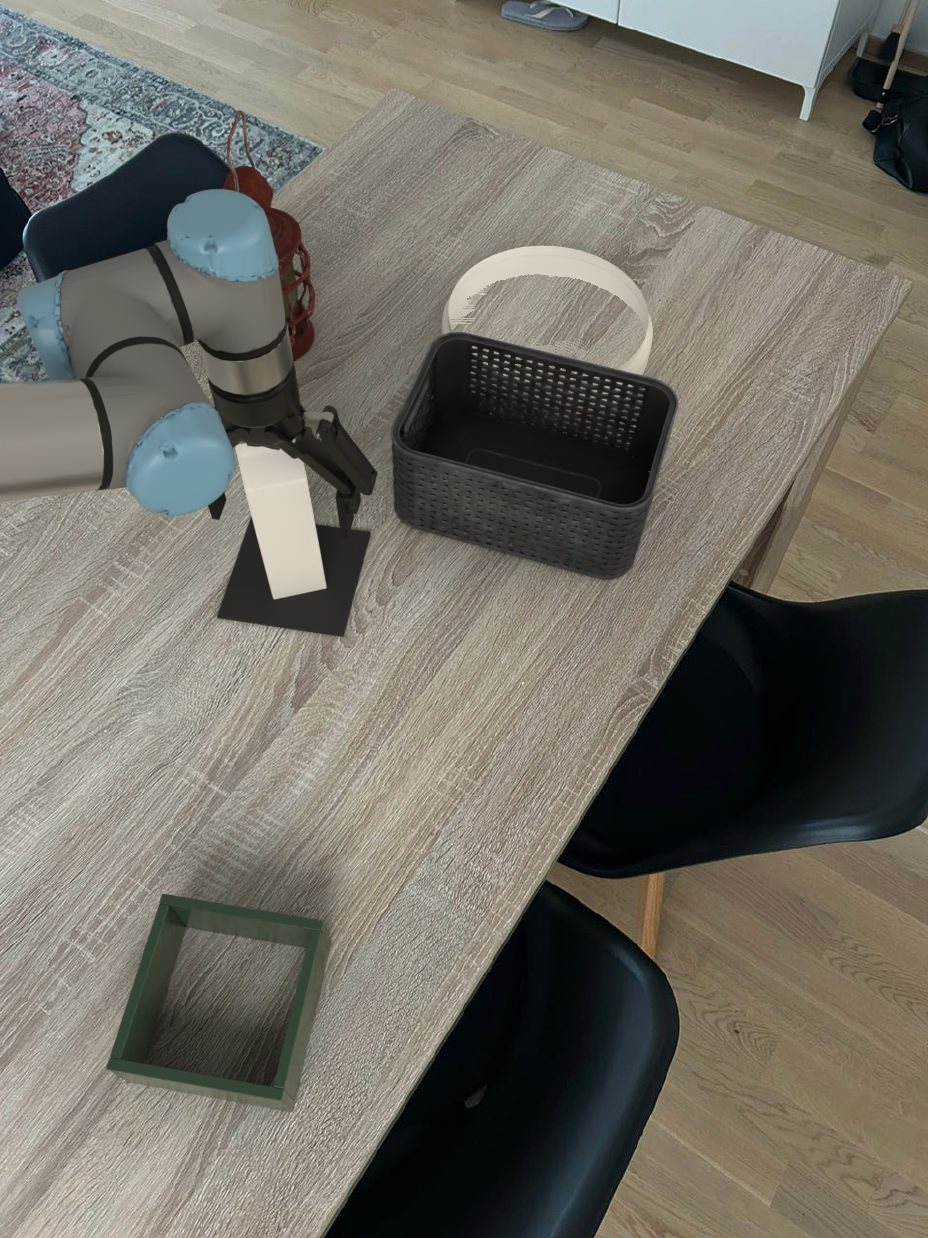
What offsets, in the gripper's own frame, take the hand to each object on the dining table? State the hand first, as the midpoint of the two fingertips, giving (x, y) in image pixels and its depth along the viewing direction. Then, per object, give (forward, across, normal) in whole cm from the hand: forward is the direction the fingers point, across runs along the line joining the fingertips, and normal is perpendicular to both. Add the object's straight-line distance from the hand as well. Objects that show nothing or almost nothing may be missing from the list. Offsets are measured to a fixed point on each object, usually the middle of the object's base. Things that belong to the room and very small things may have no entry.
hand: (283, 518), depth 107 cm
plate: (+10, -23, -41) cm, 48 cm away
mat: (+10, 0, 0) cm, 10 cm away
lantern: (+10, +12, -36) cm, 39 cm away
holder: (+10, -6, +46) cm, 48 cm away
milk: (+10, 0, 0) cm, 10 cm away
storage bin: (+10, -24, -16) cm, 31 cm away
